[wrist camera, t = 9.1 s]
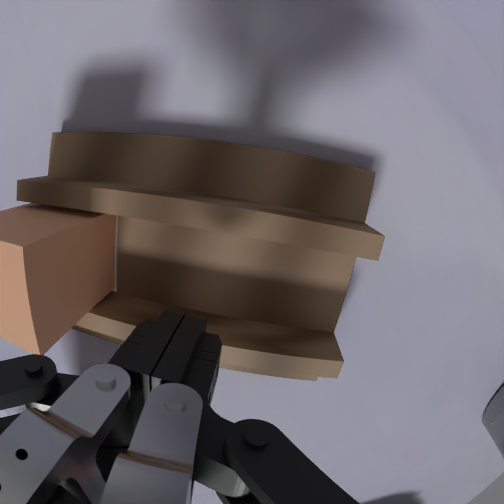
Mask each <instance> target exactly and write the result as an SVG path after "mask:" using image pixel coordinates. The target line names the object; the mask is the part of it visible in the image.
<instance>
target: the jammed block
mask: <svg viewBox="0 0 504 504" xmlns="http://www.w3.org/2000/svg"><path fill="white" fill-rule="evenodd" d="M115 229H116V215H111V214H105V213H98V212H92V211H85V210H79V209H72V208H65V207H59V206H52V205H45V204H38V203H29V204H26V205H22V206H18V207H14V208H11V209H7V210H4V211H0V337H2V338H4V339H6V340H7V341H9V342H11V343H13V344H15V345H17V346H19V347H21V348H23V349H25V350H27V351H29V352H31V353H33V354H39V355H44V354H45V353H46V352H47V351H48V350H49V349H50V348H51V347H52V346H53V345H54V344H55V343H56V342H57V341H58V340H59V339H60V338H61V337H62V336H63V335H64V334H65V333H66V332H67V331H68V330H69V329H71V328H72V327H73V326H74V325H75V324H76V323H77V322H78V321H79V320H80V319H81V318H82V317H83V316H84V315H85V314H87V313H88V312H89V311H90V310H91V309H92V308H93V307H94V306H95V305H96V304H97V303H99V302H100V301H101V300H102V299H103V298H104V297H105V296H106V295H107V294H109V293H110V292H111V291H112V290H113V289H114V288H115Z"/></svg>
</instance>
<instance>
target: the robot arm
mask: <svg viewBox="0 0 504 504" xmlns="http://www.w3.org/2000/svg"><path fill="white" fill-rule="evenodd" d="M206 328H207V318H204V317H199V316H195V315H190V314H185V313H180V312H176V311H172V310H167V309H165V310H164V311H163V312H162V314H161V315H160V317H159V318H158V319H157V321H154V320H150V319H148V320H146V321H144V322H142V323H140V324H138V325H137V326H136V327H135V329H134V330H133V331H132V332H131V335H129V336H128V338H127V339H126V341H124V343H123V344H122V345H121V346H120V348H119V349H118V350H117V352H116V353H115V354H114V356H113V357H112V358H111V359H110V361H109V362H108V363H107V364H97V365H94V366H91V367H89V368H88V369H86V370H85V371H84V372H83V373H82V374H81V375H80V376H77V375H69V374H62V373H57V369H56V366H55V363H54V362H53V361H52V360H51V359H50V358H48V357H47V356H44V355H39V354H32V355H27V356H22V357H18V358H13V359H8V360H4V361H0V410H3V409H7V408H12V407H16V406H20V405H24V404H25V406H26V408H27V409H26V410H25V411H23V412H22V413H20V414H16V415H11V416H7V417H3V418H0V504H191V503H192V496H193V488H194V481H197V482H199V483H201V484H203V485H205V486H207V487H209V488H211V489H213V490H215V491H216V493H217V495H218V497H219V498H220V500H221V501H222V502H223V504H359V503H358V502H357V501H356V500H355V499H353V498H352V497H351V496H350V495H349V494H347V493H346V492H345V491H344V490H343V489H342V488H340V487H339V486H338V485H337V484H336V483H335V482H334V481H332V480H331V479H330V478H329V477H328V476H327V475H326V474H325V473H324V472H322V471H321V470H320V469H319V468H318V467H317V466H316V465H315V464H314V463H313V462H312V461H311V460H310V459H309V458H307V457H306V456H305V455H304V454H303V453H302V452H301V451H300V450H299V449H298V448H297V447H296V446H295V445H294V444H293V443H292V442H291V441H290V440H289V439H288V438H287V437H286V436H285V435H284V434H283V433H282V432H281V431H280V430H279V429H278V428H277V427H276V426H274V425H273V424H271V423H269V422H266V421H263V420H258V419H246V420H241V421H238V422H236V423H232V422H230V421H228V420H226V419H224V418H222V417H220V416H219V415H218V414H216V413H215V412H214V411H213V409H212V408H211V406H210V404H211V400H212V396H213V393H214V389H215V385H216V381H217V377H218V370H219V363H220V356H221V350H222V342H221V340H220V337H219V335H217V334H212V333H207V332H206ZM482 422H483V424H484V426H485V427H486V429H487V431H488V432H489V434H490V435H491V437H492V439H493V440H494V442H495V444H496V446H497V447H498V449H499V451H500V452H501V454H502V456H503V458H504V386H503V387H502V388H501V389H500V390H499V392H498V393H497V394H496V395H495V396H494V398H493V399H492V401H491V402H490V404H489V405H488V407H487V408H486V410H485V413H484V415H483V419H482Z"/></svg>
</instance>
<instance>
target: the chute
mask: <svg viewBox="0 0 504 504" xmlns="http://www.w3.org/2000/svg"><path fill="white" fill-rule="evenodd" d="M374 177H375V172H372V171H368V170H365V169H361V168H357V167H353V166H349V165H345V164H341V163H336V162H332V161H328V160H323V159H319V158H314V157H309V156H305V155H300V154H295V153H290V152H284V151H279V150H273V149H268V148H262V147H256V146H249V145H243V144H236V143H229V142H222V141H214V140H205V139H197V138H187V137H177V136H165V135H152V134H135V133H111V132H55V133H52V140H51V148H50V158H49V169H48V176H42V177H35V178H28V179H22V180H17V201H24V202H31V203H38V204H45V205H52V206H59V207H65V208H72V209H79V210H85V211H92V212H98V213H105V214H111V215H116V229H115V288H114V289H113V290H112V291H111V292H110V293H109V294H107V295H106V296H105V297H104V298H103V299H102V300H101V301H100V302H99V303H97V304H96V305H95V306H94V307H93V308H92V309H91V310H90V311H89V312H88V313H87V314H85V315H84V316H83V317H82V318H81V319H80V320H79V321H78V322H77V323H76V324H75V325H74V326H73V327H72V328H73V329H75V330H78V331H81V332H84V333H87V334H90V335H93V336H96V337H99V338H103V339H106V340H109V341H112V342H116V343H119V344H123V343H124V341H126V339H127V338H128V336H129V335H131V332H132V331H133V330H134V329H135V327H136V326H137V325H138V324H140V323H142V322H144V321H146V320H148V319H150V320H154V321H157V319H158V318H159V317H160V315H161V314H162V312H163V311H164V310H165V309H167V310H172V311H176V312H180V313H185V314H190V315H195V316H199V317H204V318H207V328H206V332H207V333H212V334H217V335H219V337H220V340H221V342H222V350H221V356H220V363H219V368H224V369H230V370H236V371H242V372H248V373H254V374H261V375H268V376H276V377H284V378H292V379H301V380H312V381H316V380H317V377H330V378H337V377H338V375H339V373H340V370H341V368H342V365H343V363H344V360H343V357H342V355H341V352H340V349H339V346H338V343H337V340H336V338H335V335H334V330H335V327H336V324H337V321H338V318H339V314H340V311H341V308H342V305H343V302H344V298H345V295H346V292H347V288H348V285H349V281H350V278H351V274H352V271H353V267H354V264H355V260H356V257H361V258H366V259H372V260H377V261H378V260H379V257H380V253H381V249H382V245H383V242H384V238H385V236H384V235H382V234H381V233H379V232H378V231H376V230H375V229H373V228H372V227H370V226H368V225H367V224H365V220H366V215H367V211H368V206H369V202H370V197H371V192H372V187H373V182H374Z"/></svg>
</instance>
